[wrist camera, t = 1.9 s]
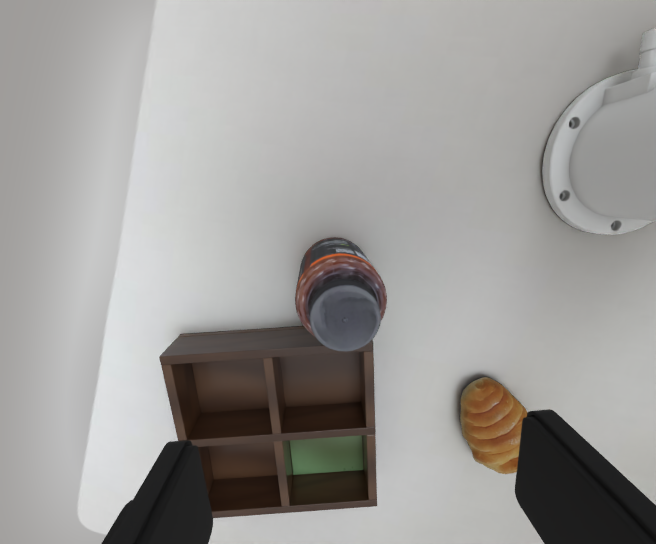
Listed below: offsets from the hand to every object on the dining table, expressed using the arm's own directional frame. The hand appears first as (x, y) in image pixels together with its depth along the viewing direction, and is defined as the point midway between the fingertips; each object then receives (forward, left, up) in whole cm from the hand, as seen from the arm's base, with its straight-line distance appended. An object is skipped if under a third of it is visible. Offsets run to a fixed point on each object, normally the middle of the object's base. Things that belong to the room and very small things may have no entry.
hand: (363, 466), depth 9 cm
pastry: (+16, +15, -20) cm, 30 cm away
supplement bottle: (-1, 0, -20) cm, 20 cm away
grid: (+13, -6, -20) cm, 25 cm away
